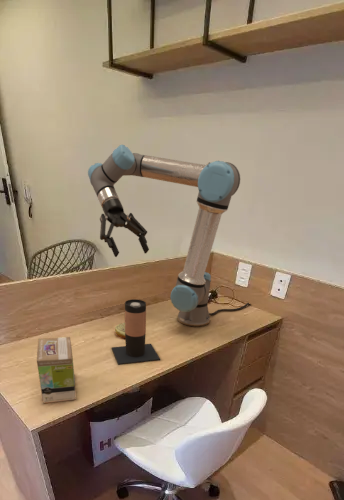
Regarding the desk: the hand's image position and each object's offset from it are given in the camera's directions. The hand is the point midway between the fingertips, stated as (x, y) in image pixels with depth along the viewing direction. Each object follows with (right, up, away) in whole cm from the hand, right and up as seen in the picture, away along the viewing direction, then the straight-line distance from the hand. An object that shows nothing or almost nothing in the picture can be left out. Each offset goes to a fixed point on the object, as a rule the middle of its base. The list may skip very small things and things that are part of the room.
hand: (132, 253), depth 130 cm
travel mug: (+1, -38, 0) cm, 38 cm away
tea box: (-21, -52, -21) cm, 60 cm away
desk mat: (+1, -39, +1) cm, 39 cm away
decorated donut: (-4, -29, +15) cm, 33 cm away
